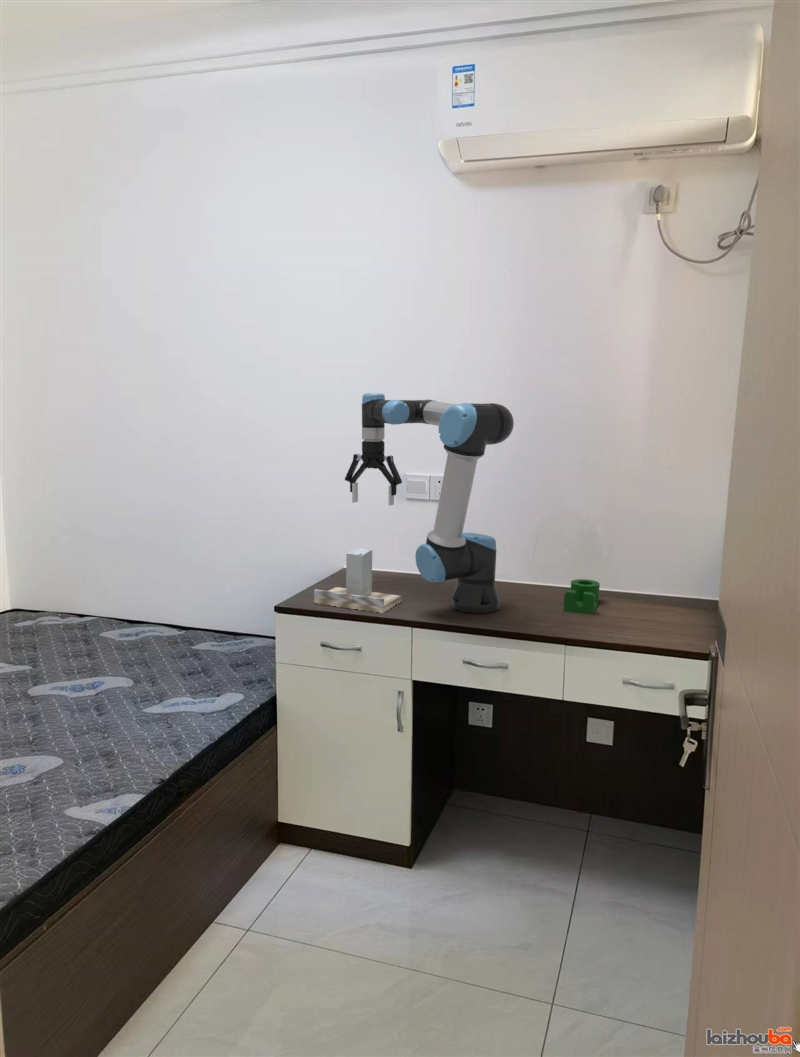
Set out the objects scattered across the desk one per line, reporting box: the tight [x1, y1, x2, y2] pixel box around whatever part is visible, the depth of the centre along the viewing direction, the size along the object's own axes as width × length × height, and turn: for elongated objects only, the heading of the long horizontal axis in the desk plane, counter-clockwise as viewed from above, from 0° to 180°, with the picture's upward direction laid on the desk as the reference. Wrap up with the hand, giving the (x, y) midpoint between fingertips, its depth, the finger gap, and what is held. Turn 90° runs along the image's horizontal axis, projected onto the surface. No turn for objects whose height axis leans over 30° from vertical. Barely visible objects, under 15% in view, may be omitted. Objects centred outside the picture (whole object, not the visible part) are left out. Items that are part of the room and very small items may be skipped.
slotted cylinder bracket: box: [563, 578, 601, 615], centre depth 242 cm, size 18×9×6 cm, turn 159°
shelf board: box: [313, 586, 403, 614], centre depth 242 cm, size 24×14×4 cm, turn 66°
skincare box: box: [345, 547, 373, 596], centre depth 241 cm, size 8×6×15 cm
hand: (372, 503), depth 257 cm, fingers open, 13 cm apart
